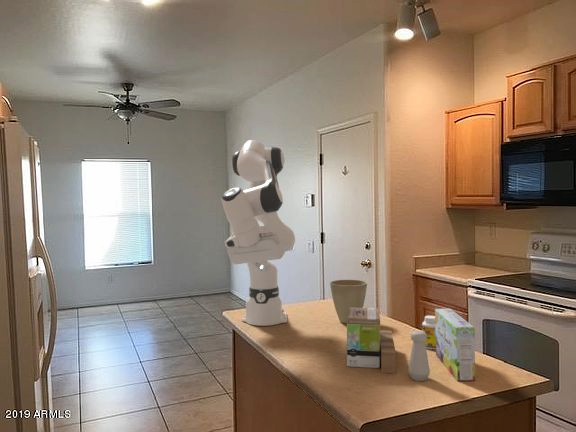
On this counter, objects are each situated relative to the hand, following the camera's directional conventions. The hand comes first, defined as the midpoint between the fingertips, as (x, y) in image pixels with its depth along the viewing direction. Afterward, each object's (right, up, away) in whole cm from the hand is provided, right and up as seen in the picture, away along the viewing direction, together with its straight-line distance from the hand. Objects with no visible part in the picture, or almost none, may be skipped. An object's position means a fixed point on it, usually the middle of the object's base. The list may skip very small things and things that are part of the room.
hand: (263, 271), depth 159 cm
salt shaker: (+44, -26, -30) cm, 60 cm away
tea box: (+32, -26, -14) cm, 43 cm away
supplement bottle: (+56, -25, -4) cm, 61 cm away
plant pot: (+33, -24, +30) cm, 51 cm away
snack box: (+57, -26, -22) cm, 66 cm away
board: (+39, -26, -15) cm, 49 cm away
